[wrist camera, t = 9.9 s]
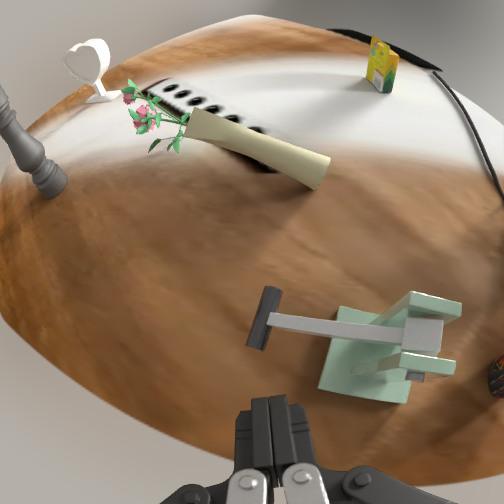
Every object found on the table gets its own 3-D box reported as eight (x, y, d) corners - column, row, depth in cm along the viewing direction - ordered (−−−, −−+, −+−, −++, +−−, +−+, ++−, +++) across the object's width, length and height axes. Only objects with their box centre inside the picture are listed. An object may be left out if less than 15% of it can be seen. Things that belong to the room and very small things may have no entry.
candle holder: (68, 169, 46) (6, 78, 23) (65, 190, 43) (-8, 94, 21) (47, 182, 45) (-18, 98, 23) (43, 204, 42) (-31, 117, 20)
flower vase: (296, 227, 43) (116, 151, 45) (324, 162, 44) (149, 99, 46) (310, 209, 31) (84, 122, 33) (343, 128, 32) (128, 62, 34)
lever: (253, 350, 24) (238, 343, 22) (271, 293, 26) (259, 283, 24) (432, 380, 15) (435, 377, 13) (442, 308, 17) (445, 296, 15)
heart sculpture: (81, 104, 59) (56, 56, 43) (92, 93, 61) (69, 46, 45) (116, 100, 56) (90, 43, 40) (128, 89, 58) (105, 33, 42)
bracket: (316, 388, 26) (347, 392, 14) (337, 308, 29) (375, 252, 17) (401, 403, 24) (477, 407, 11) (416, 326, 27) (488, 284, 15)
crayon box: (391, 93, 47) (401, 48, 37) (380, 93, 47) (389, 47, 37) (376, 77, 51) (383, 35, 40) (365, 77, 51) (371, 34, 40)
